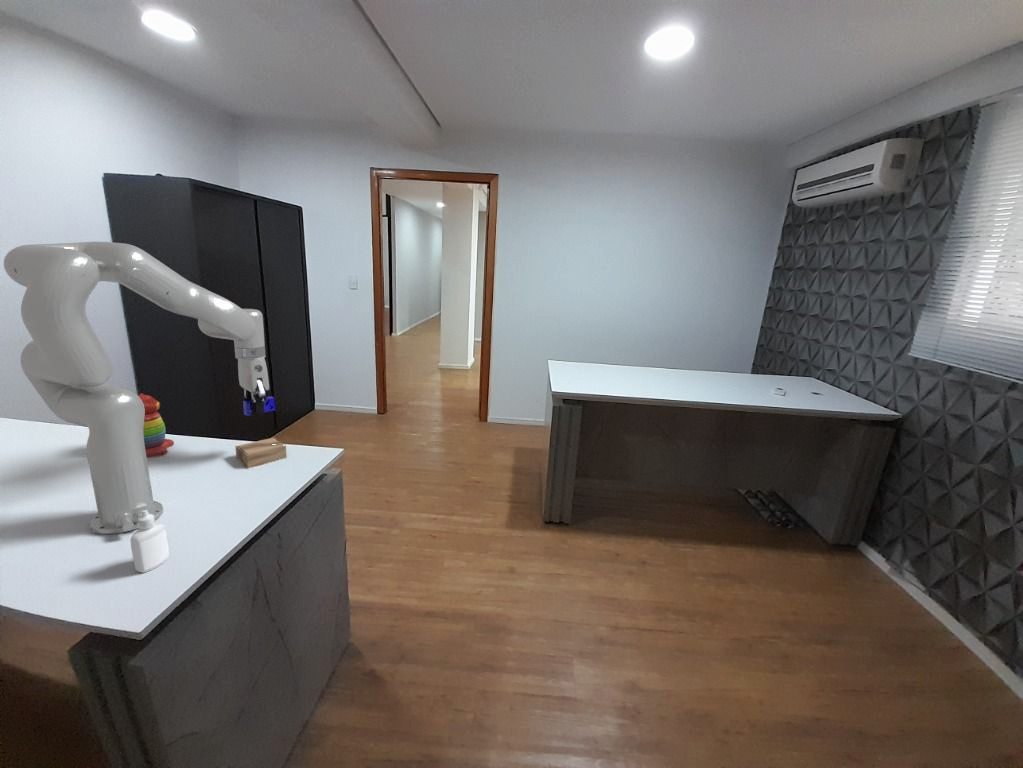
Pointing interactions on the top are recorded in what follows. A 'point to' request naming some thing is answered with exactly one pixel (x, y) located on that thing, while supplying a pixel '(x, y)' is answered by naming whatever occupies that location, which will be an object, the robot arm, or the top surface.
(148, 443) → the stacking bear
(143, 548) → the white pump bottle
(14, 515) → the top surface
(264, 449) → the plinth
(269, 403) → the cable holder
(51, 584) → the top surface
